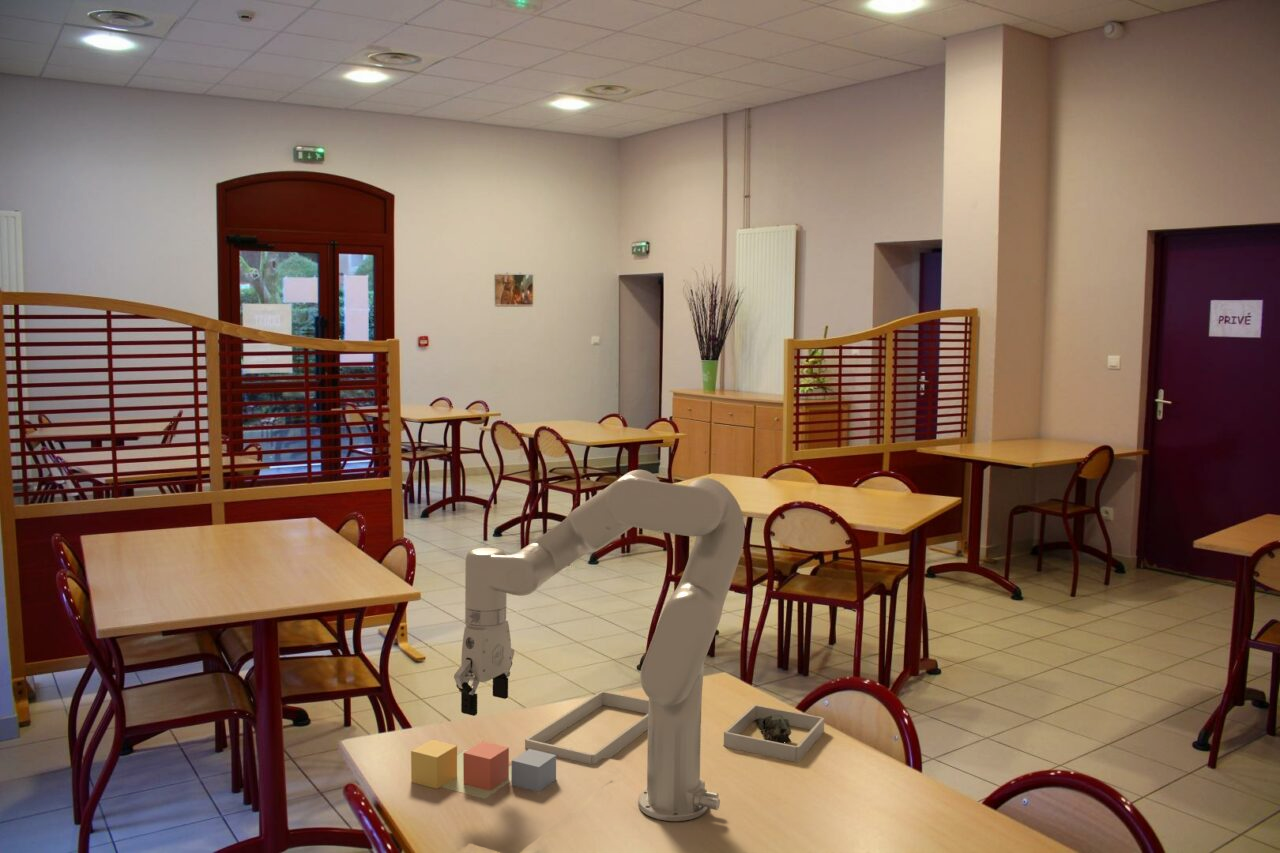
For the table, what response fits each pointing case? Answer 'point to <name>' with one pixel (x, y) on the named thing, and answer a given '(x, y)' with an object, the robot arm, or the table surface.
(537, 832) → the table surface
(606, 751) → the beige open rectangular frame
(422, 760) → the ochre block
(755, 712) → the shell frame
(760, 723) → the dark grey lumpy lump
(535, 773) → the slate block
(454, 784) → the building board
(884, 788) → the table surface
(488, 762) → the red block
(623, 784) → the table surface
